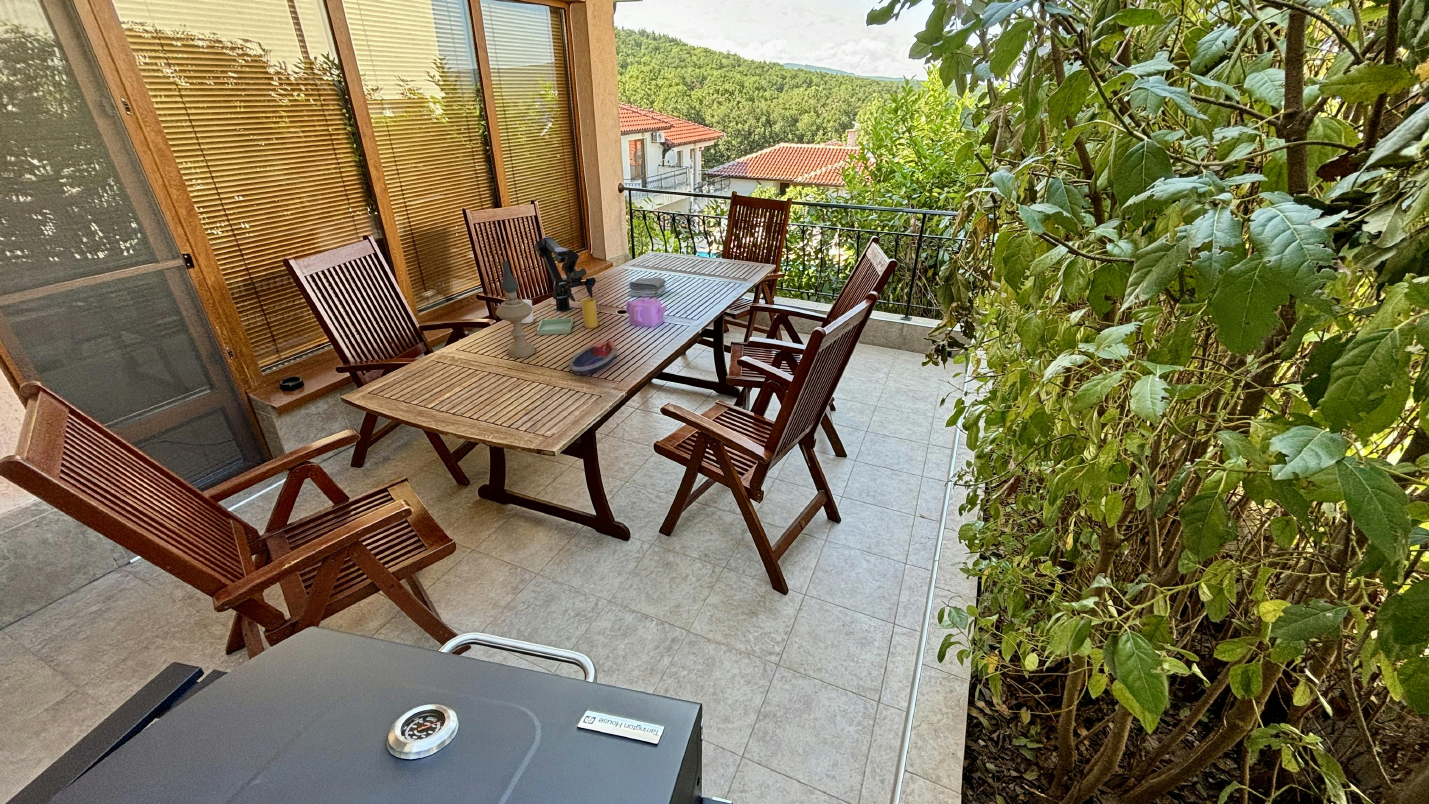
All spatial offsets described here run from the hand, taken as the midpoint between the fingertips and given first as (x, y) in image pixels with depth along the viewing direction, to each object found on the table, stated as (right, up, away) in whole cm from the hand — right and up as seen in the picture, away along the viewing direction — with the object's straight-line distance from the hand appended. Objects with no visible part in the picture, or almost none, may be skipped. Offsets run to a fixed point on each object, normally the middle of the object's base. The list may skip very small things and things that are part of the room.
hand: (583, 299), depth 290 cm
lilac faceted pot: (+31, -11, +4) cm, 33 cm away
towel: (+26, +12, +48) cm, 56 cm away
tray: (-13, -14, -1) cm, 19 cm away
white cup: (-30, -9, +9) cm, 33 cm away
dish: (+14, -34, -40) cm, 55 cm away
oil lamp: (-21, -28, -27) cm, 45 cm away
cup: (+4, -12, +1) cm, 13 cm away
